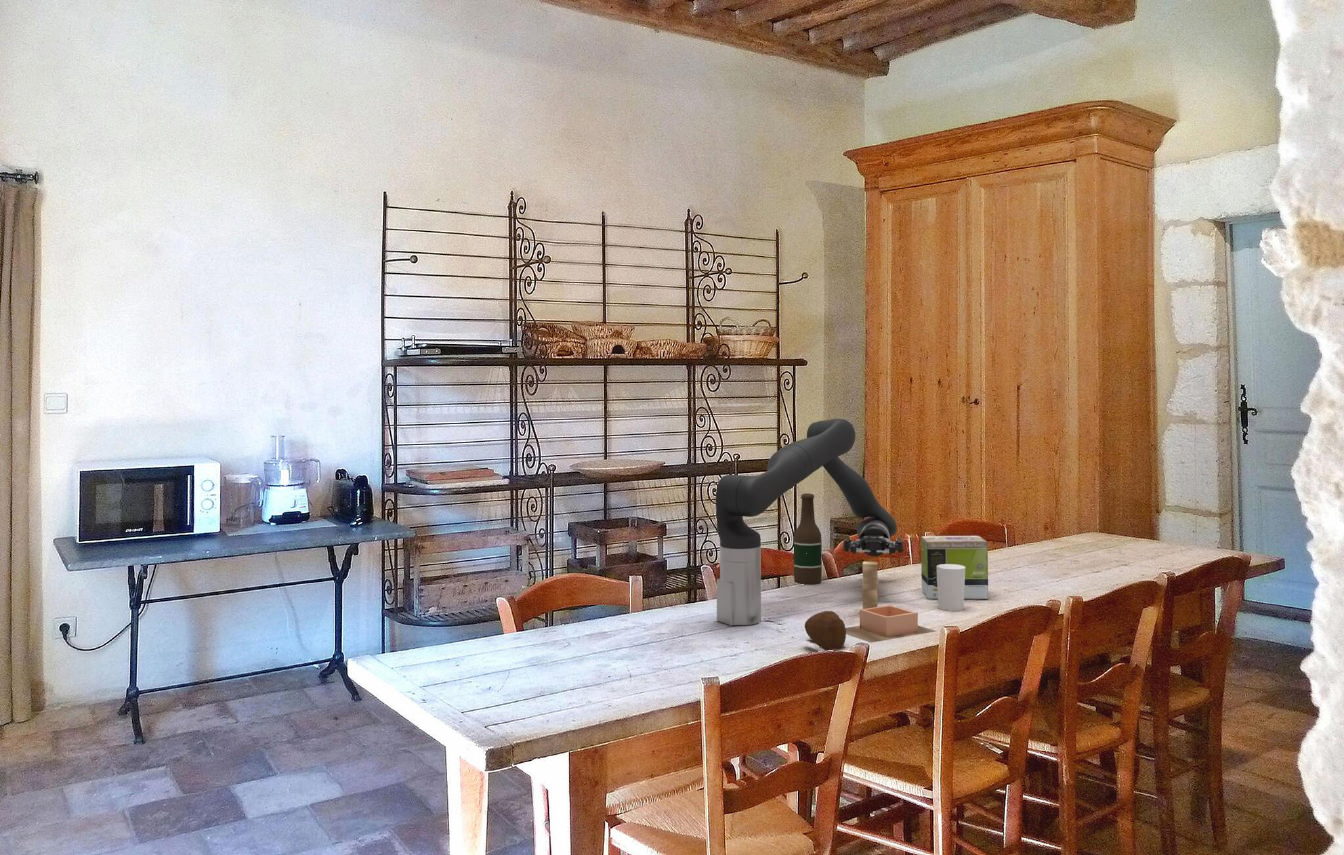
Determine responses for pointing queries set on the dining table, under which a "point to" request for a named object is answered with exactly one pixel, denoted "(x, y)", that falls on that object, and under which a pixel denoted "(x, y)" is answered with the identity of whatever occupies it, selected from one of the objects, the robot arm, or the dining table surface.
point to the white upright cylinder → (950, 586)
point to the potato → (826, 630)
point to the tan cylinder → (869, 585)
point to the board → (874, 637)
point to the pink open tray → (888, 620)
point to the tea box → (955, 552)
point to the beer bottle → (807, 545)
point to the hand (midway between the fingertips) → (872, 550)
